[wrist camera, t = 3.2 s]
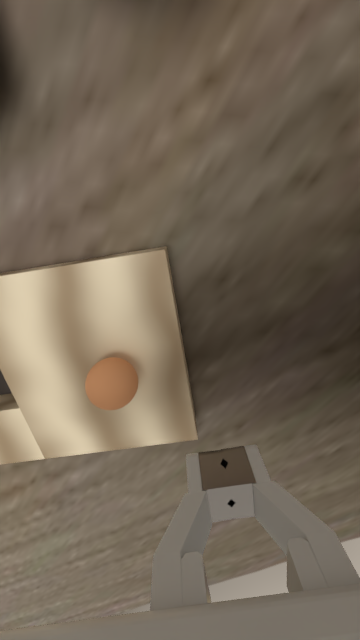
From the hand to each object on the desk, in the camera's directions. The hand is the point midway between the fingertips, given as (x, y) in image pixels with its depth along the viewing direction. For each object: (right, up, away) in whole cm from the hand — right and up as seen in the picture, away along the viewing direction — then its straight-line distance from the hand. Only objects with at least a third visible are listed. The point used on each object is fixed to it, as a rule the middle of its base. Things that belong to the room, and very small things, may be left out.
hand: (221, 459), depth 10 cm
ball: (-6, +2, +8) cm, 10 cm away
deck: (-12, +2, +10) cm, 16 cm away
